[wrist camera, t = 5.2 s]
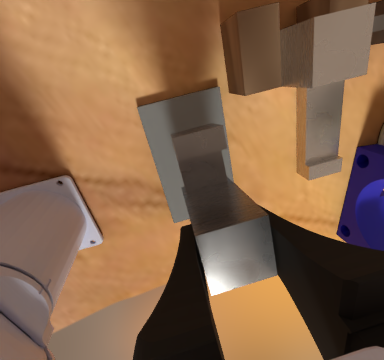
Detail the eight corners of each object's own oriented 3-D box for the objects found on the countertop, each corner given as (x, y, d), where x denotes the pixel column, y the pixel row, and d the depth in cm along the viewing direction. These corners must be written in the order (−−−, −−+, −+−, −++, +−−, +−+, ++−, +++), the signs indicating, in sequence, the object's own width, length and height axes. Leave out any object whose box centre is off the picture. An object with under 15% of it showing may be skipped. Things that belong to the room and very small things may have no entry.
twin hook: (266, 181, 23) (308, 218, 17) (256, 39, 18) (314, 17, 11) (326, 164, 24) (389, 194, 18) (336, 19, 18) (435, -13, 12)
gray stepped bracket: (192, 227, 17) (211, 295, 11) (166, 134, 15) (170, 150, 8) (233, 214, 18) (277, 275, 11) (214, 122, 15) (256, 127, 9)
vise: (229, 92, 19) (245, 95, 16) (220, 24, 17) (236, 12, 14) (373, 55, 20) (417, 51, 17) (383, -14, 18) (435, -35, 14)
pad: (173, 219, 24) (174, 223, 23) (137, 106, 18) (137, 107, 18) (235, 202, 24) (237, 205, 23) (217, 86, 19) (219, 86, 18)
